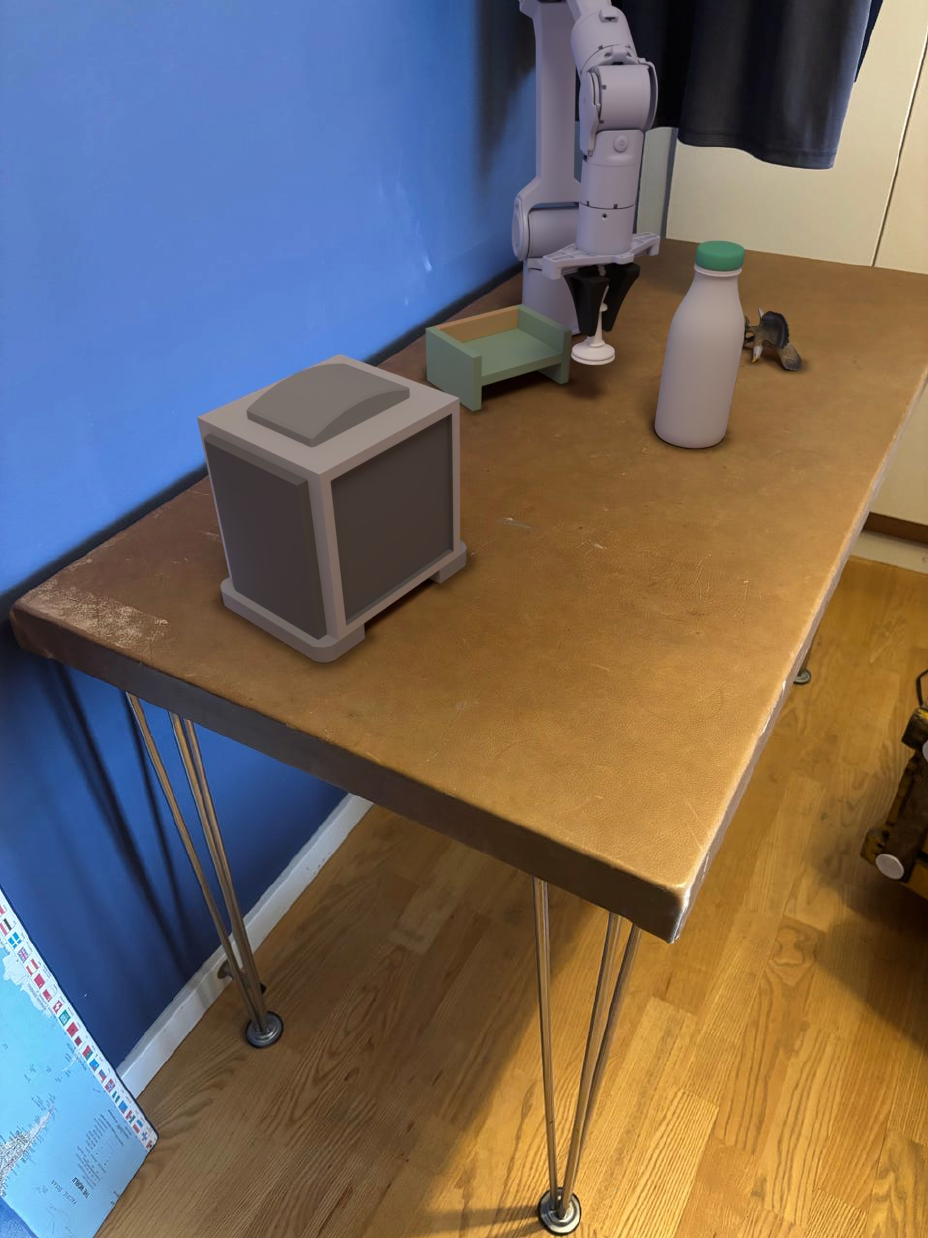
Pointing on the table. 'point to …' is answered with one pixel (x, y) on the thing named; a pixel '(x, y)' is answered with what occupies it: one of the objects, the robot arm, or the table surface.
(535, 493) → the table surface
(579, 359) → the chess piece
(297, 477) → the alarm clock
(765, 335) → the brown toy animal
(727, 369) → the milk bottle
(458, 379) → the shelf
